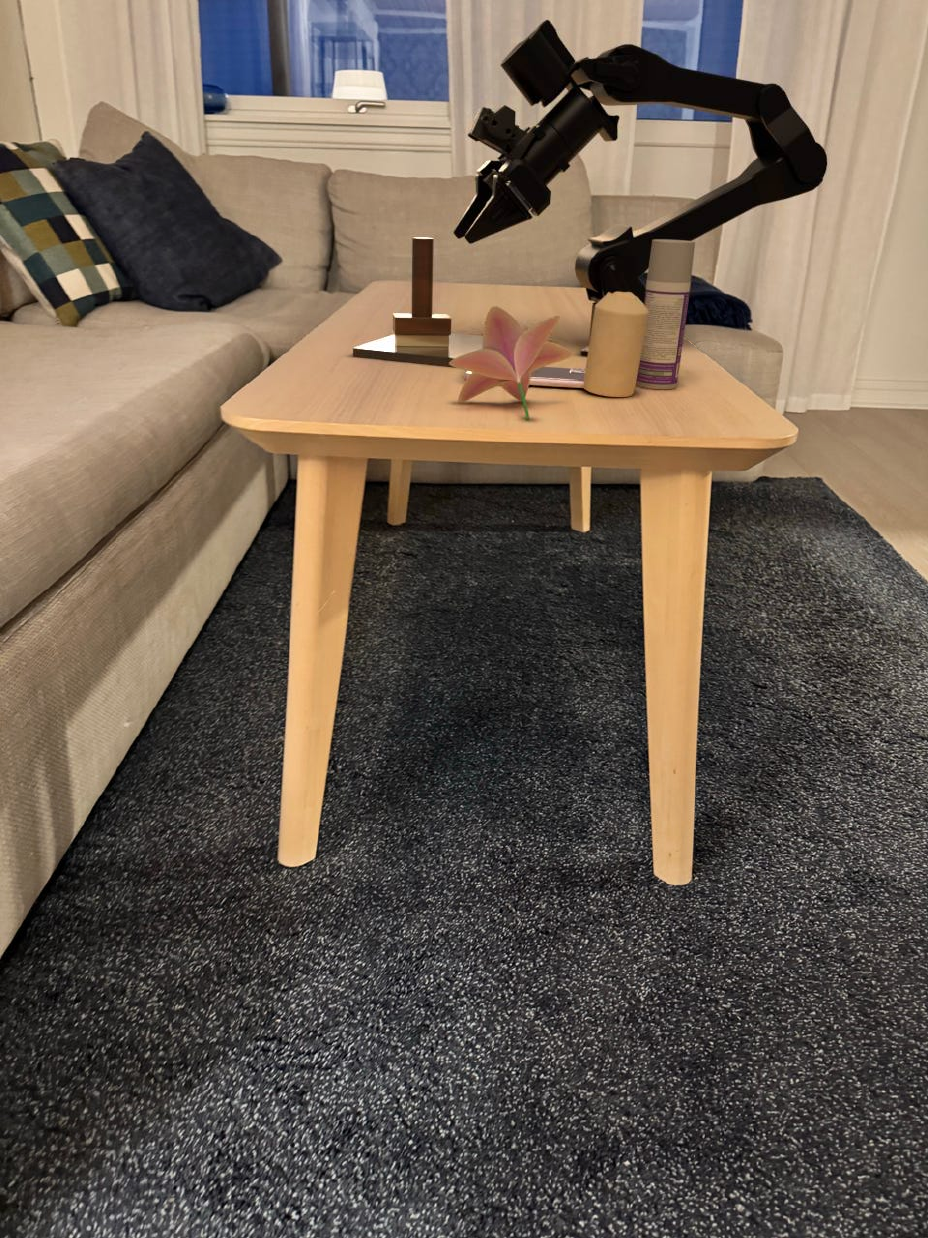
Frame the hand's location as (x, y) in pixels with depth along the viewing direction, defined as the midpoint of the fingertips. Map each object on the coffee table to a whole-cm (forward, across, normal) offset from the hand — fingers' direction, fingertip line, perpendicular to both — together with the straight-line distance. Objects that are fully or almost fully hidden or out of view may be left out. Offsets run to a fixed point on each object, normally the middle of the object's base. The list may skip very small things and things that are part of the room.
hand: (461, 238), depth 110 cm
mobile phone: (+5, +17, +14) cm, 23 cm away
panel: (+11, -1, +8) cm, 14 cm away
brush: (+12, 0, +6) cm, 13 cm away
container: (-4, +19, +24) cm, 31 cm away
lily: (+9, +31, +10) cm, 34 cm away
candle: (0, +23, +19) cm, 30 cm away
